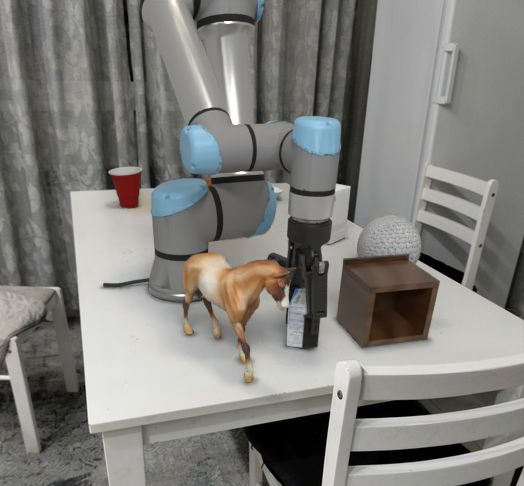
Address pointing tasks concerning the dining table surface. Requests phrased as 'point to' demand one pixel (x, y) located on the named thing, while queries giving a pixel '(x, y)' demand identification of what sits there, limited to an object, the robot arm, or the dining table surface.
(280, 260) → the can opener
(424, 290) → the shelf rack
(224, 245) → the dining table surface
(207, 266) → the horse figurine
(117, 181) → the plastic cup
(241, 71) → the robot arm
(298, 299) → the medicine box
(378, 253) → the decorative ball
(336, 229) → the white product box
